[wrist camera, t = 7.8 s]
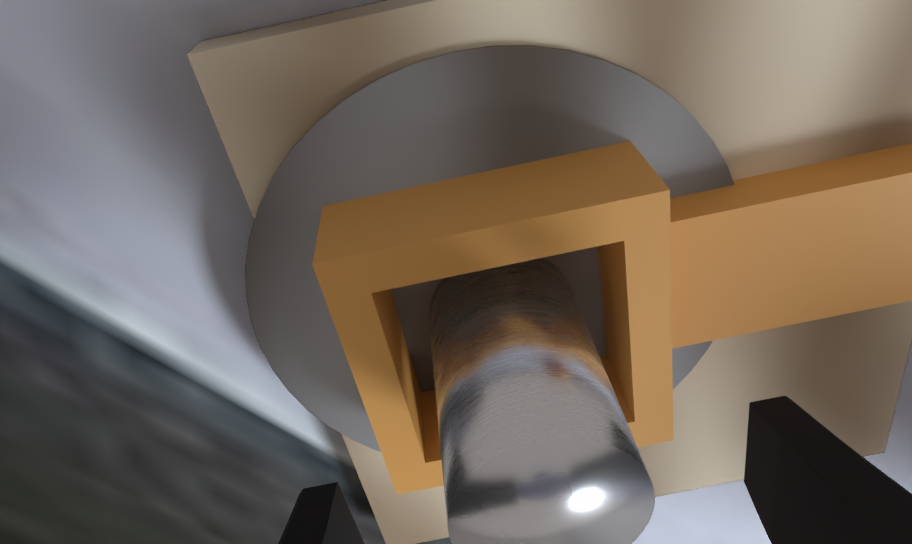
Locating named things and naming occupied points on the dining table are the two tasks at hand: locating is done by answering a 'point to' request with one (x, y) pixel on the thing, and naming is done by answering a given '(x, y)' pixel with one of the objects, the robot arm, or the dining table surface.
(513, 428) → the pin
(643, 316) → the bracket
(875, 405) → the rosette board
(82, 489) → the dining table surface
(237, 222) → the dining table surface
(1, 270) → the dining table surface
